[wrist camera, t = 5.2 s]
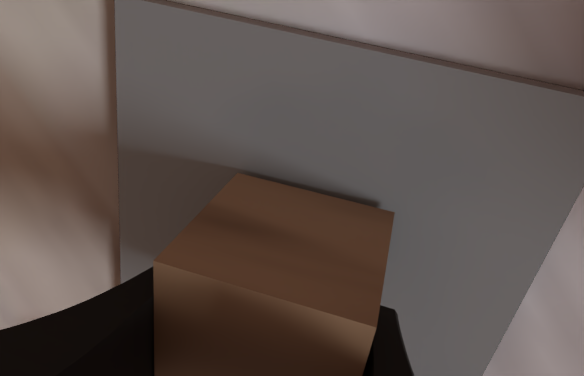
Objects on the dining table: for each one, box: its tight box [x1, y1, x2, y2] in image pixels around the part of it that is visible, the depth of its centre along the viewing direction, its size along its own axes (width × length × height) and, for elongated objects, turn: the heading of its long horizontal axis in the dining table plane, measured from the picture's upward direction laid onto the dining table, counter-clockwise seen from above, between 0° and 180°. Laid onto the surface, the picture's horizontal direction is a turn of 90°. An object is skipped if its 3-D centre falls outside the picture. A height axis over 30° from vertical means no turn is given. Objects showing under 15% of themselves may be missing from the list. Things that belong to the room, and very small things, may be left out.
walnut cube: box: [153, 173, 395, 376], centre depth 13 cm, size 5×5×5 cm
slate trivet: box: [114, 0, 584, 376], centre depth 16 cm, size 14×14×1 cm
